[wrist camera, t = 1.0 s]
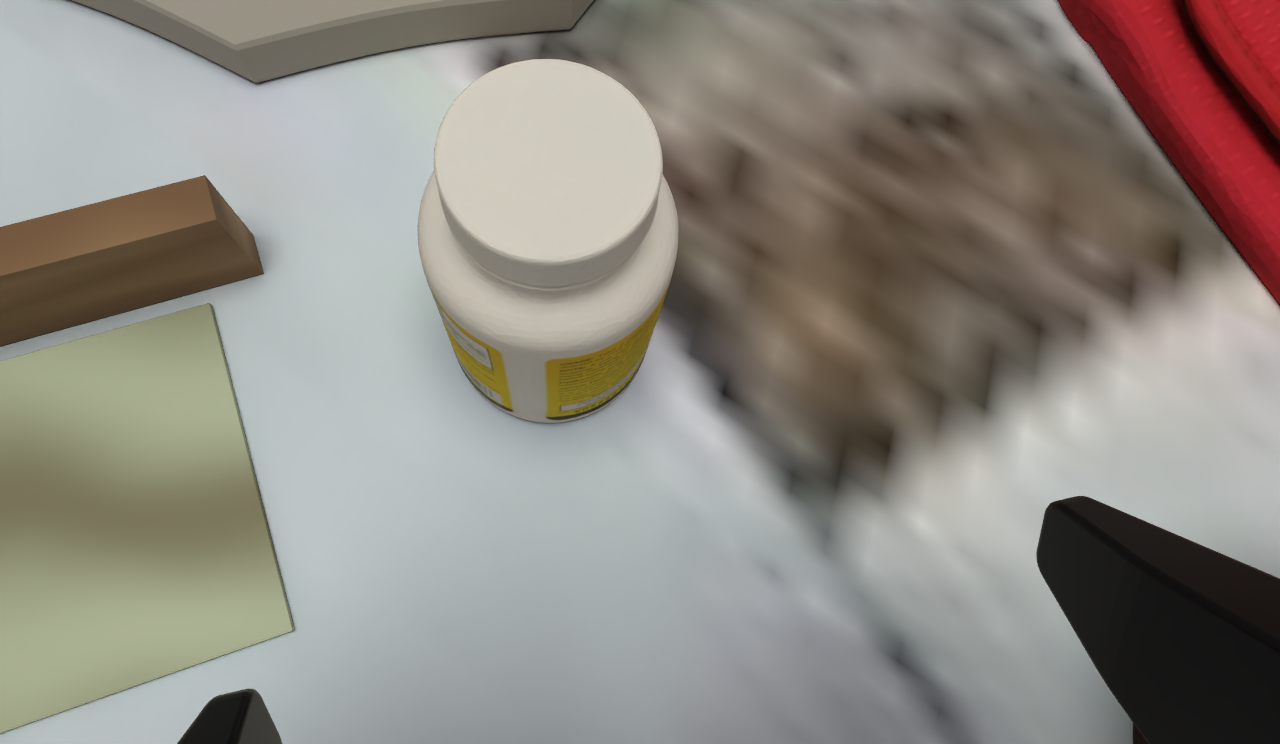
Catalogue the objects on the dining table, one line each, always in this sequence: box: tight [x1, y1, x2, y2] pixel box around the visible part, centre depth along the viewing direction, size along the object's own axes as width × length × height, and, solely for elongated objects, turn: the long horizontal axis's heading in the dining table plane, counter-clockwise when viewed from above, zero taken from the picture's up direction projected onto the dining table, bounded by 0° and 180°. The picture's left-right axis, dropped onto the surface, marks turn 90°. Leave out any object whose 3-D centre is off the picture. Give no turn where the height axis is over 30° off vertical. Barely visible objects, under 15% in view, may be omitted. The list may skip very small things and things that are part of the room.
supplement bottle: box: [418, 59, 678, 423], centre depth 20 cm, size 5×5×10 cm
